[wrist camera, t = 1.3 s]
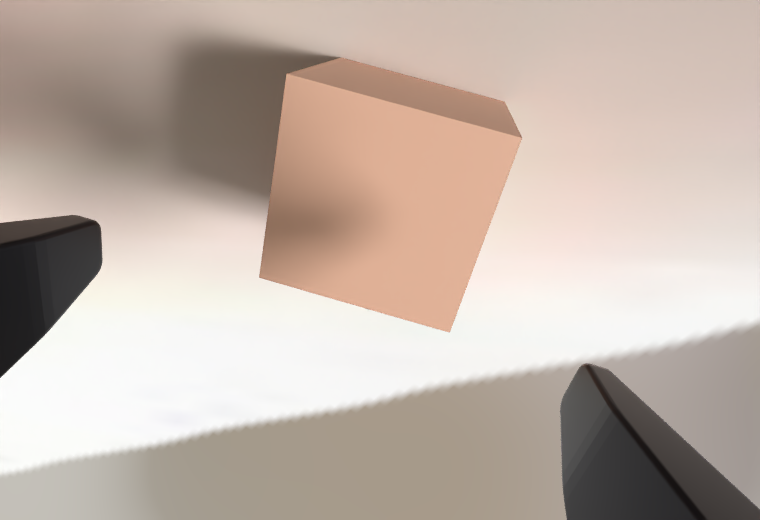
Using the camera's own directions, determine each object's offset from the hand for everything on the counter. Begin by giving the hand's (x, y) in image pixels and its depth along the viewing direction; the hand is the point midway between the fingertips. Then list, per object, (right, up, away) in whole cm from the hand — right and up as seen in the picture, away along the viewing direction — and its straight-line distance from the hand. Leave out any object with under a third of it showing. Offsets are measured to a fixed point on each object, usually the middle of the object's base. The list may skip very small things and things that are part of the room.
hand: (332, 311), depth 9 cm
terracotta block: (+2, +5, +10) cm, 11 cm away
